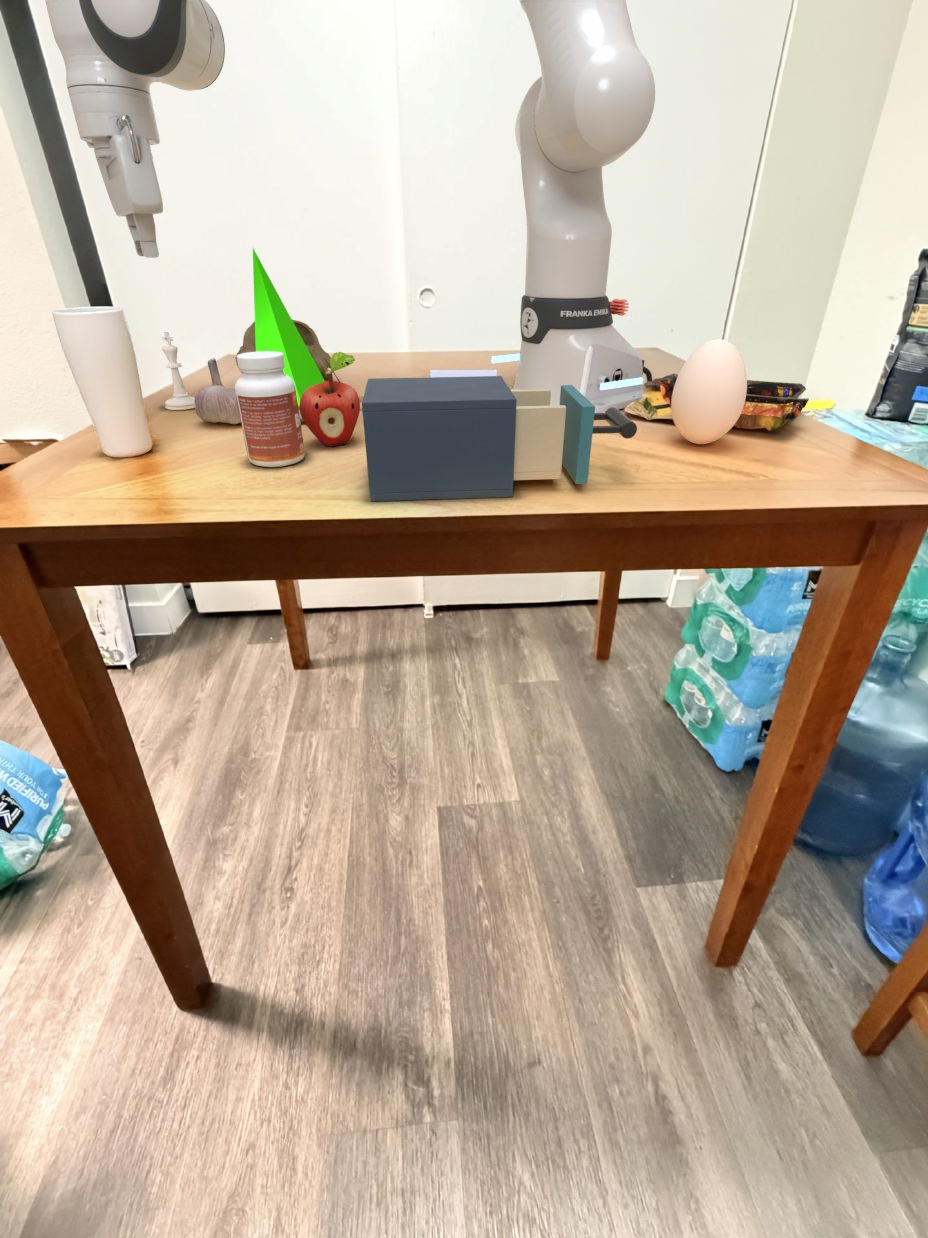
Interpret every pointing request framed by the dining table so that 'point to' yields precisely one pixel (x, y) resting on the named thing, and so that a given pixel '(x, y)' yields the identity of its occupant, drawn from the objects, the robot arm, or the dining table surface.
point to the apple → (331, 406)
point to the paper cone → (281, 333)
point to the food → (761, 408)
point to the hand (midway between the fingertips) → (148, 256)
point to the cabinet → (439, 438)
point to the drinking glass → (106, 376)
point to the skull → (308, 338)
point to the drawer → (559, 433)
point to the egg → (709, 392)
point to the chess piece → (176, 379)
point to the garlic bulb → (217, 400)
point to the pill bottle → (268, 410)
